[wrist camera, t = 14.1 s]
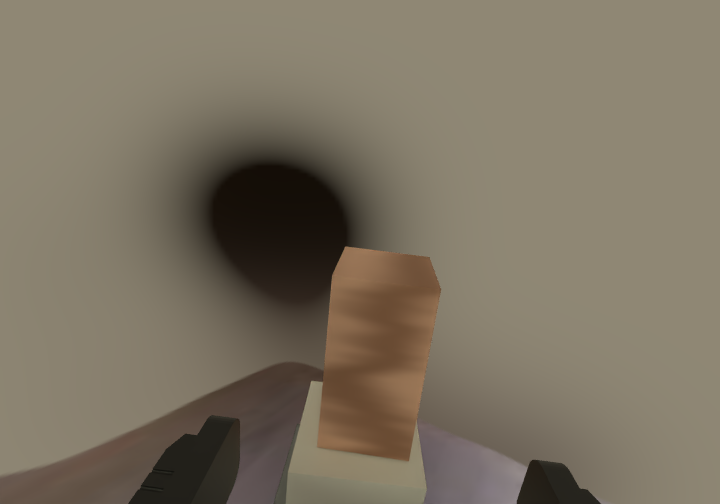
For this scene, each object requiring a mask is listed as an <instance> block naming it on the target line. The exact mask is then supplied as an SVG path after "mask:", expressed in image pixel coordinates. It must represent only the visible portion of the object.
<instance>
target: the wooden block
mask: <svg viewBox="0 0 720 504" xmlns="http://www.w3.org/2000/svg"><path fill="white" fill-rule="evenodd" d="M440 293H441V288H440V285H439V282H438V280H437V277H436V274H435V271H434V269H433V266H432V263H431V260H430V258H429V257H424V256H416V255H408V254H400V253H392V252H384V251H376V250H368V249H360V248H352V247H345V249H344V251H343V253H342V256H341V258H340V260H339V262H338V264H337V266H336V269H335V271H334V273H333V275H332V285H331V296H330V307H329V319H328V330H327V342H326V353H325V364H324V375H323V386H322V397H321V408H320V419H319V431H318V442H317V447H320V448H326V449H332V450H339V451H345V452H352V453H358V454H365V455H371V456H377V457H384V458H390V459H397V460H403V461H409V458H410V453H411V447H412V442H413V437H414V431H415V426H416V421H417V415H418V410H419V404H420V399H421V394H422V389H423V383H424V378H425V373H426V367H427V362H428V357H429V351H430V346H431V341H432V335H433V330H434V325H435V319H436V314H437V309H438V303H439V297H440Z"/></svg>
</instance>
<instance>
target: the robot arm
mask: <svg viewBox="0 0 720 504" xmlns="http://www.w3.org/2000/svg"><path fill="white" fill-rule="evenodd" d="M239 461H240V421H239V419H236V418H229V417H221V416H214V415H211V416H210V417H209V418H208V419H207V420H206V422H205V424H204V425H203V427H202V428H201V430H200V432H199V433H198V435H191V434H185V435H183V436H182V437H181V438H180V439H178V440H177V441H176V442H175V443H173V444H172V445H171V446H170V447H168V448H167V449H166V450H165V452H164V453H163V455H162V456H161V458H160V459H159V460H158V462H157V463H156V465H155V466H154V468H153V470H152V472H151V473H149V475H148V476H147V478H146V479H145V480H144V482H143V483H142V485H141V488H140V490H137V492H136V493H135V495H134V496H133V498H132V499H131V500H130V502H129V503H128V504H226V502H227V500H228V498H229V495H230V493H231V491H232V488H233V486H234V483H235V480H236V477H237V473H238V468H239ZM517 504H601V503H600V502H599V501H598V500H597V499H596V498H595V497H594V496H593V495H592V494H591V493H590V492H589V491H588V490H586V489H580V488H579V487H578V485H577V483H576V481H575V480H574V478H573V476H572V474H571V473H570V471H569V469H568V468H567V467H566V466H565V465H564V464H562V463H555V462H548V461H540V460H532V461H531V462H530V464H529V466H528V469H527V472H526V475H525V478H524V481H523V484H522V487H521V490H520V493H519V496H518V499H517Z"/></svg>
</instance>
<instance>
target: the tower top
mask: <svg viewBox="0 0 720 504" xmlns="http://www.w3.org/2000/svg"><path fill="white" fill-rule="evenodd" d="M322 386H323V382H317V381H311V385H310V389H309V392H308V396H307V400H306V404H305V408H304V412H303V416H302V419H301V423H300V427H299V431H298V435H297V439H296V443H295V446H294V450H293V454H292V458H291V462H290V466H289V470H288V477H287V492H286V504H423V503H424V499H425V495H426V491H427V487H426V480H425V474H424V467H423V461H422V454H421V447H420V441H419V434H418V428H417V421H416V426H415V431H414V437H413V442H412V447H411V453H410V458H409V461H403V460H397V459H390V458H384V457H377V456H371V455H365V454H358V453H352V452H345V451H339V450H332V449H326V448H320V447H317V442H318V431H319V419H320V408H321V397H322Z"/></svg>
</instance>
